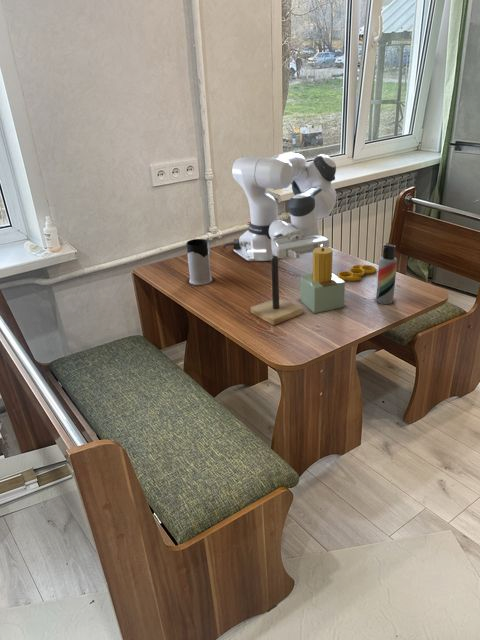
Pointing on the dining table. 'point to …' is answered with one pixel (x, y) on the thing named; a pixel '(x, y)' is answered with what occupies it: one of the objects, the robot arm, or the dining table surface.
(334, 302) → the display block
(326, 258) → the slatted lidded canister
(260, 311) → the peg stand
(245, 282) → the dining table surface
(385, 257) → the lotion bottle
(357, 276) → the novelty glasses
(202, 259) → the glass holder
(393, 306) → the dining table surface
